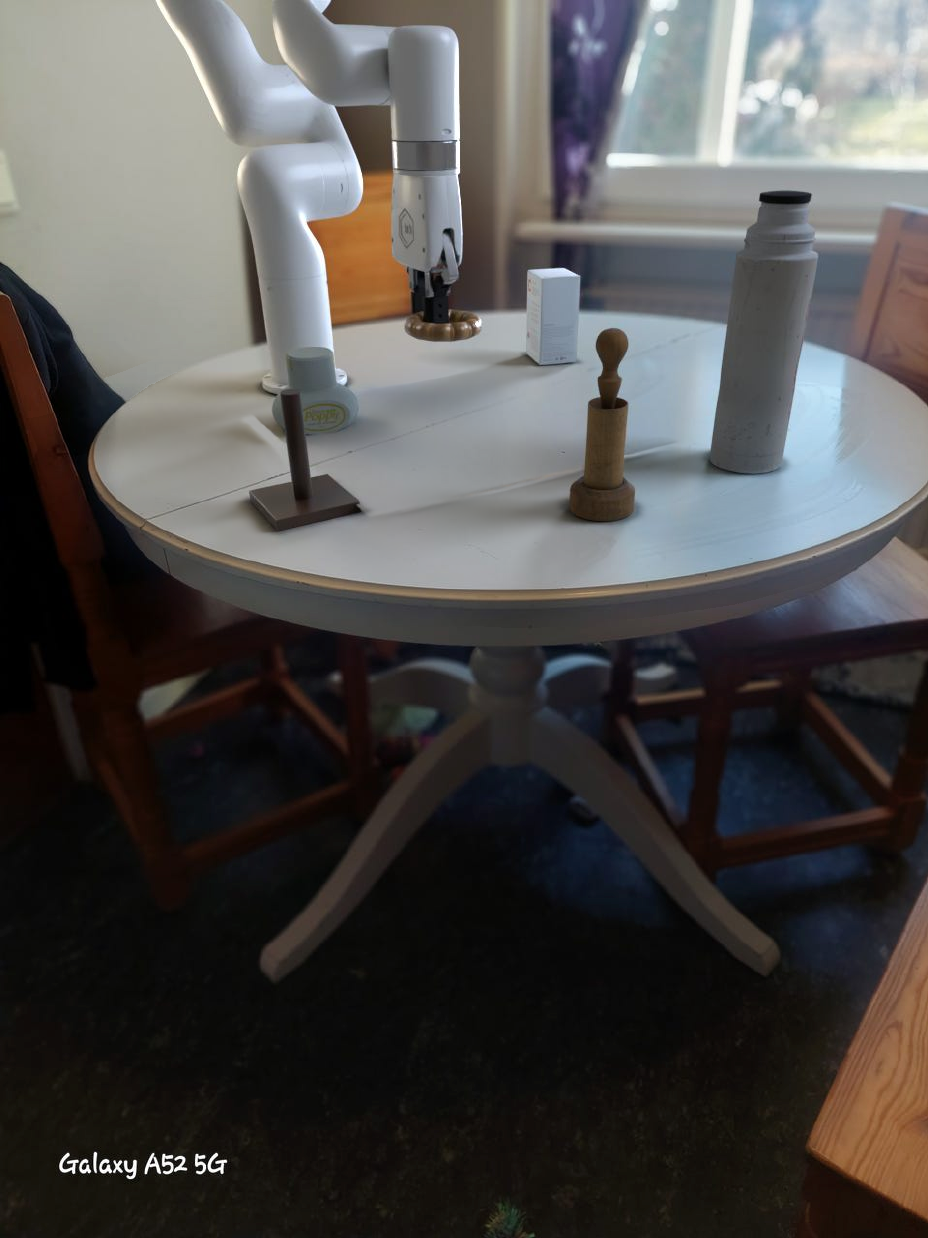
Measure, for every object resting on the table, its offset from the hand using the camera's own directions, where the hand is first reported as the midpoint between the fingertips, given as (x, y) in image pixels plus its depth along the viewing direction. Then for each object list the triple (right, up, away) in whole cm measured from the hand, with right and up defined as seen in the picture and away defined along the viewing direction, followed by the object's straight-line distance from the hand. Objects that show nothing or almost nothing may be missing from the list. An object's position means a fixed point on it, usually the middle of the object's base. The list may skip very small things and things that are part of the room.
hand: (430, 325), depth 107 cm
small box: (+18, +6, +33) cm, 39 cm away
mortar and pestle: (+18, -25, -17) cm, 35 cm away
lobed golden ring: (+2, -1, -3) cm, 3 cm away
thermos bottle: (+36, -18, -7) cm, 41 cm away
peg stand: (-13, -24, -15) cm, 31 cm away
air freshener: (-15, -12, +5) cm, 20 cm away
